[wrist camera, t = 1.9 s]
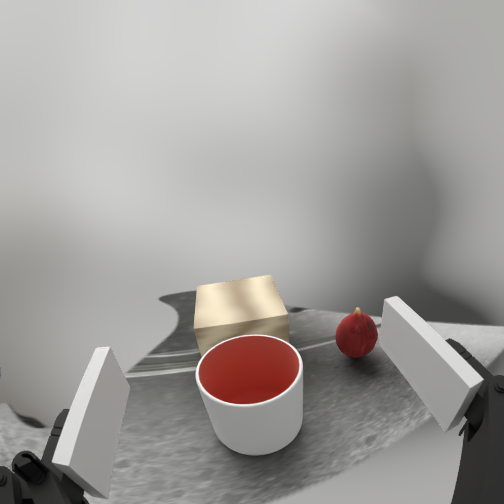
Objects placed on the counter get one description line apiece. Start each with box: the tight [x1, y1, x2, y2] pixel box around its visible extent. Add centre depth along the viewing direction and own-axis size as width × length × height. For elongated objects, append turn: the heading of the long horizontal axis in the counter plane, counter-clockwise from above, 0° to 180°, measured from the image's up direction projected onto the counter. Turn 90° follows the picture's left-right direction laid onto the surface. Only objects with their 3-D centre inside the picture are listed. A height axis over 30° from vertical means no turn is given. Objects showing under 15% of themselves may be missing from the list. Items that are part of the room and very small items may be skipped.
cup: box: [196, 335, 303, 455], centre depth 27 cm, size 10×10×10 cm
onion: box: [336, 308, 378, 358], centre depth 36 cm, size 6×6×8 cm
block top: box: [194, 275, 289, 357], centre depth 39 cm, size 11×11×5 cm
